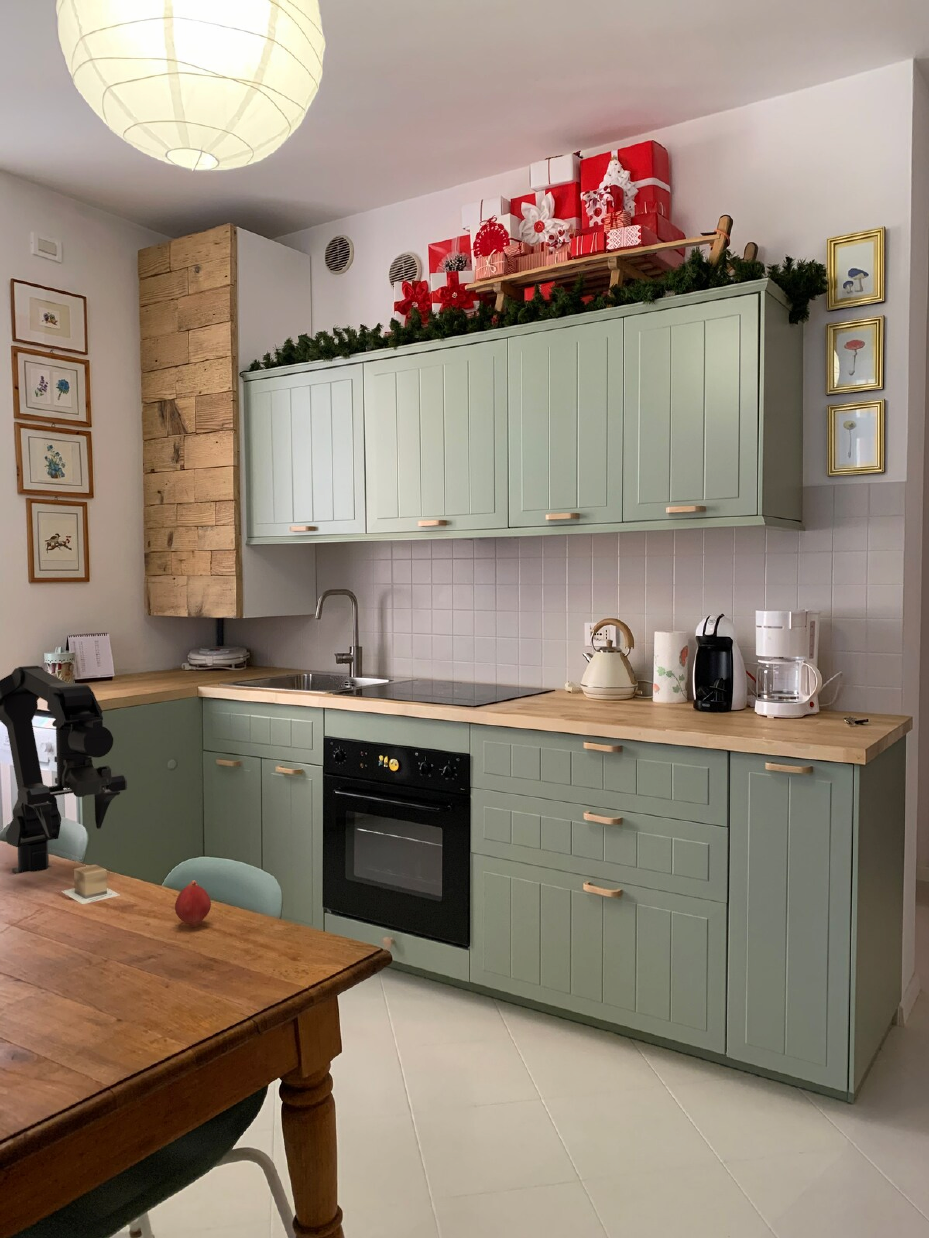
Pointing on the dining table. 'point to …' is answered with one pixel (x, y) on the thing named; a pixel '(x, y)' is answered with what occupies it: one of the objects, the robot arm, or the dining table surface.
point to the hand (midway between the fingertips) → (74, 832)
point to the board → (82, 900)
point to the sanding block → (90, 881)
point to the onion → (192, 904)
